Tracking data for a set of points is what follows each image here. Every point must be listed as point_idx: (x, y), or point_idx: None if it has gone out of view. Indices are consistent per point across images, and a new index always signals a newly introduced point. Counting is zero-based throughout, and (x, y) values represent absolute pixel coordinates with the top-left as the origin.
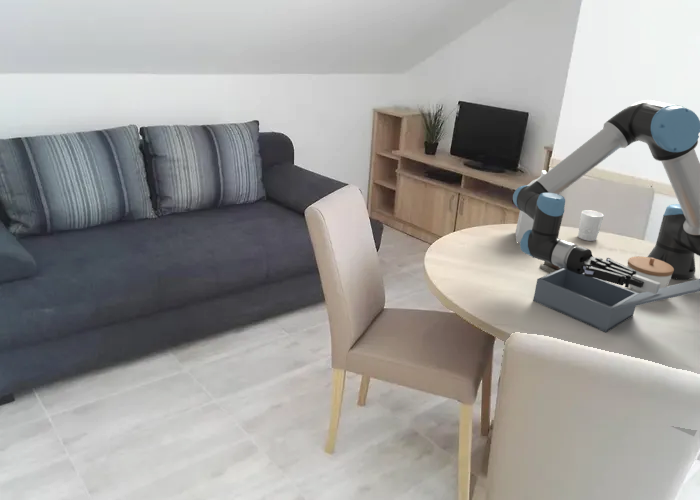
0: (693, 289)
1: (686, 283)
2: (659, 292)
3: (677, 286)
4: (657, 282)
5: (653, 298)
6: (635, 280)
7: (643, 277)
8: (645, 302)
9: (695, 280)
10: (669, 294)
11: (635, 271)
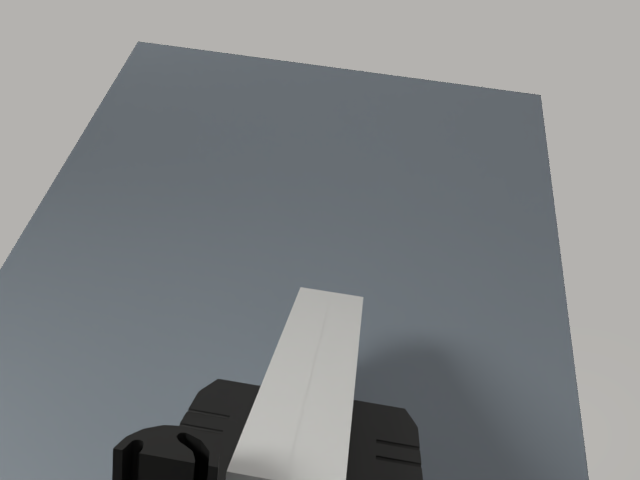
0: (520, 131)
1: (131, 211)
2: None
3: (159, 263)
4: (310, 299)
5: (530, 378)
6: (419, 472)
7: (280, 380)
8: (579, 454)
9: (106, 166)
10: (505, 259)
11: (197, 436)
